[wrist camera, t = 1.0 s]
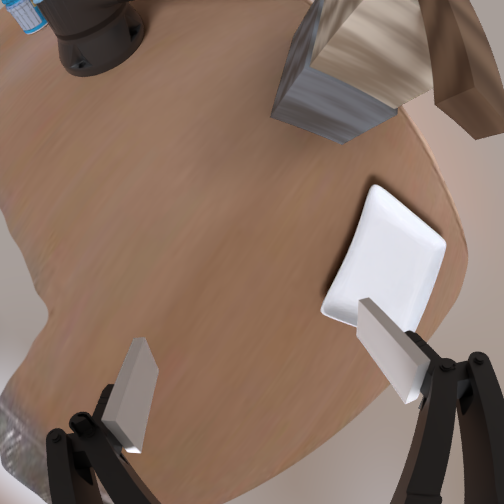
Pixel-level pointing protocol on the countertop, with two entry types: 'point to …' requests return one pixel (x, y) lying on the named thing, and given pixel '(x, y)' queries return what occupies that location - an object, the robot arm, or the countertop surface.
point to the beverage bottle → (26, 15)
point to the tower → (353, 66)
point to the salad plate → (387, 264)
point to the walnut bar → (463, 67)
